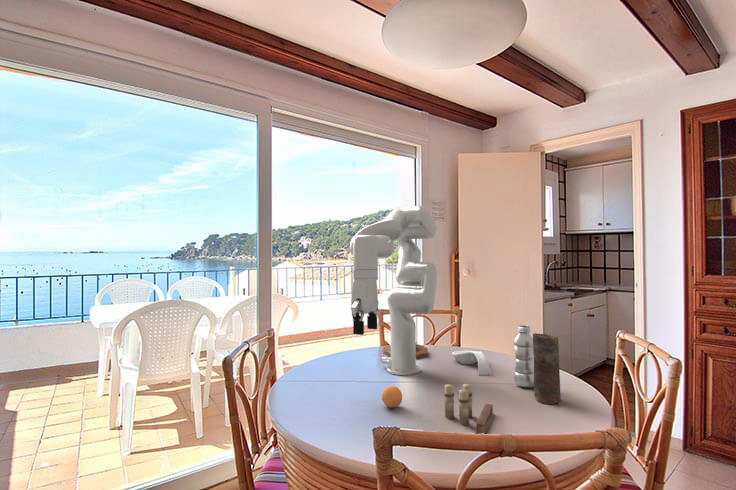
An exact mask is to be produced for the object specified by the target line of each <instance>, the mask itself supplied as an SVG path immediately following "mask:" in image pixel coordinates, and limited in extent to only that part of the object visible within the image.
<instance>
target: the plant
mask: <svg viewBox="0 0 736 490" xmlns="http://www.w3.org/2000/svg"><path fill="white" fill-rule="evenodd" d="M417 343H418V341H416V360H420V359H426V358H427V359H428V358H429V355H430V353H429V351H428V350H429V349H428V347H427V346H425V345H421V344H417ZM383 355H385V357H386V356H387V358H390V357H391V344H389V345H386V346H383Z"/></svg>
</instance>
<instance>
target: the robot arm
mask: <svg viewBox="0 0 736 490" xmlns="http://www.w3.org/2000/svg"><path fill="white" fill-rule="evenodd" d="M437 228H438V225H437V223H436V220H435V219H434V217H433V216H432V214H431V213H430V211H428V210H427V208H425V207H424V206H422V205H409V206H407V205H406V206H405V205H403V206H398V207H395V208H393V209H392V210H391V211H390V212H389V213H388V214H387V215H386V216H385V217H384V218H383V220H380V221H377V222H375V223H373V224H369V225H367V226H365V227H363V228H361V229H359V231H357V233H355V235H354V236H353V237H352V239H351V241H350V243H349V244H350V245H349V251H350V253H351V255H352V256H353V270H352V271H353V277H352V278H353V279H352V280H353V282H352V288H351V303H350V311H351V316H352V322H353V324H352V325H353V326H352V327H353V329H352V332H353V335H357V336H358V335H360V336H363V335H364V334H365V320H364V317H365V315H366V314H368V315H367V317H366V321H367V322H366V323H367V325H366V326H367V327H366V328H367V330H377V329H378V313H379V312H378V310H379V303H380V302H379V299H378V296H379V295H378V294H379V293H378V285H377V284H378V282H377V281H378V280H379V259H380V260H381V259H388V258H390V257H391V256H392V255H393V253H394V251H395V243H394V241H396V242H397V245H398V248H399V256H398V262H397V266H396V267H397V268H396V274H395V280H396V283H397V284H399V286H398V287H393V288H392V289H390V290H389V292H388V294H387V305H388V311H389V316H390V317H389V319H390V323H389V324H390V345H391V357H388V356H387V357H386V356H382V357H381V361H380V362H381V363H382V364H384V365H387V367H386V371H387V372H388V373H389V374H393V375H397V376H413V375H417V374H419V373H420V372H421V367H420V366H419V365H417V359H416V342H417V341H416V340H417V338H416V336H417V334H416V333H417V331H416V329H417V327H416V322H415V320H414V318H413V317H412V315H411V314H422V315H423V314H424V315H427V314H430V313H432V311H433V310H434V305H435V299H436V290H437V284H438V269H437V266H436V265H435V264H434V263H433V262H429V261H421V258H422V252H421V249H420V248H419V246H418V245H417V244H416V243H415V242H414V241H413V240H428V239H432V238H434V237H435V236H436V234H437ZM400 285H401V286H400ZM403 286H404V287H403Z"/></svg>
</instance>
